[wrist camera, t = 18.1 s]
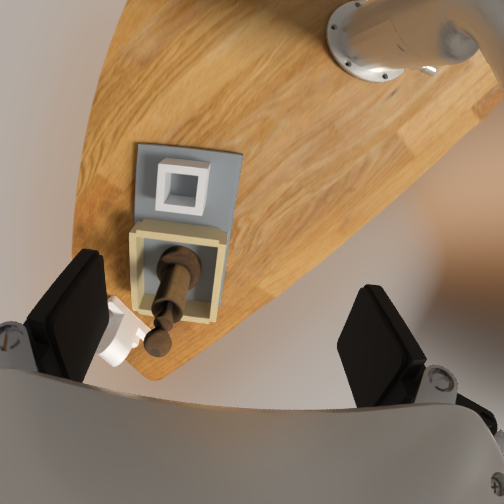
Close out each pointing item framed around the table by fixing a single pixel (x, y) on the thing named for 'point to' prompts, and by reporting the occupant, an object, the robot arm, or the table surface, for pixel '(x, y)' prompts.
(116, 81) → the table surface
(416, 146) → the table surface
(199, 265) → the brown pepper mill
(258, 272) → the table surface
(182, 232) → the socket board
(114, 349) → the cable organizer
